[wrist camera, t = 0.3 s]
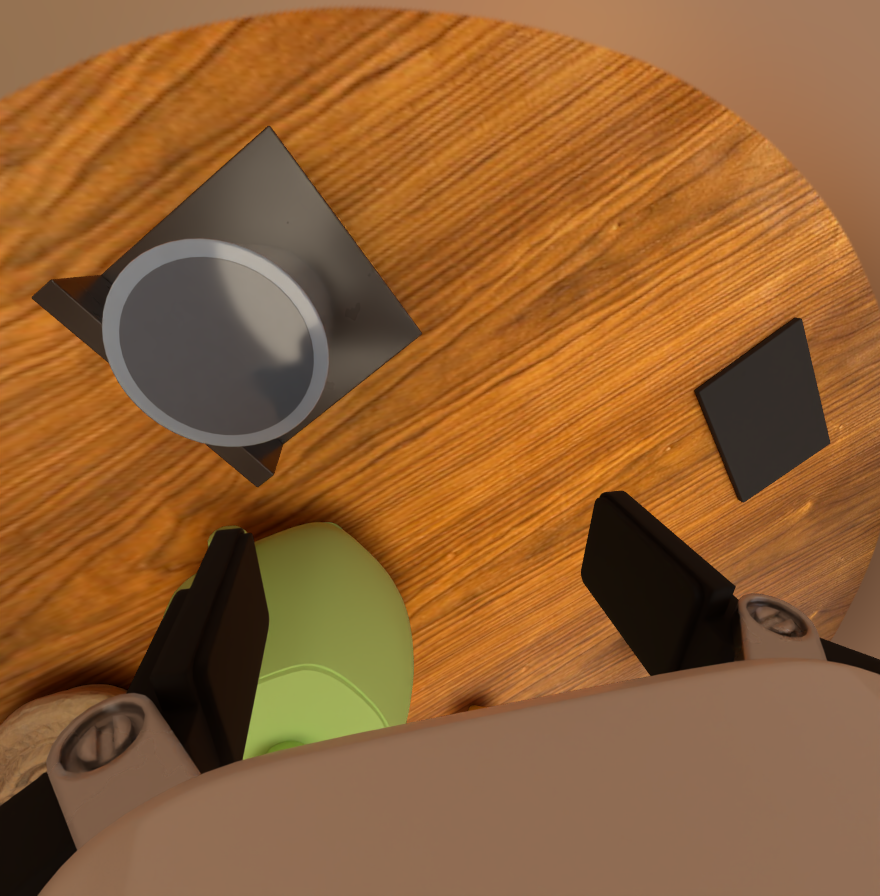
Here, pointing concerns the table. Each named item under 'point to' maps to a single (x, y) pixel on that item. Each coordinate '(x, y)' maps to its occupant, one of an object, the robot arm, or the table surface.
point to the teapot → (327, 641)
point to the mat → (766, 411)
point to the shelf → (277, 224)
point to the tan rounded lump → (41, 733)
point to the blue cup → (220, 339)
